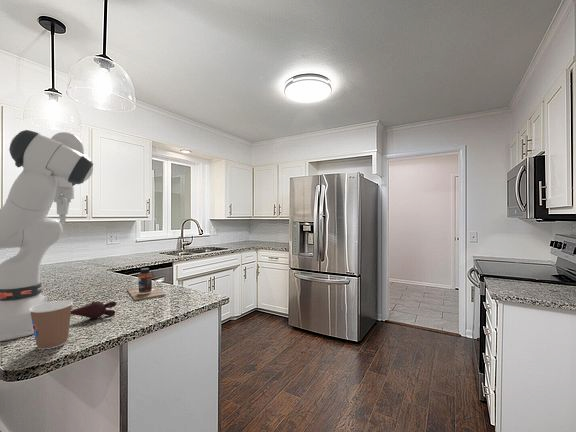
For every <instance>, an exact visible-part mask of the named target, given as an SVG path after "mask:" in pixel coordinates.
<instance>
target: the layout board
mask: <svg viewBox="0 0 576 432" xmlns="http://www.w3.org/2000/svg"><path fill="white" fill-rule="evenodd" d="M126 291H127V293H128V294H129V296H130V297H131V298H132V300H133V301H134V302H137V301H144V300H149V299H154V298H160V297H165V295H166V294H165V293H164V292H163V291H162V290H161V289H160V288H159V287H157V286H156V285H155V284H152V290H151V291H149V292H144V293H141V292H139V286H138V287H134V288H133V287H132V288H127V289H126Z"/></svg>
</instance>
